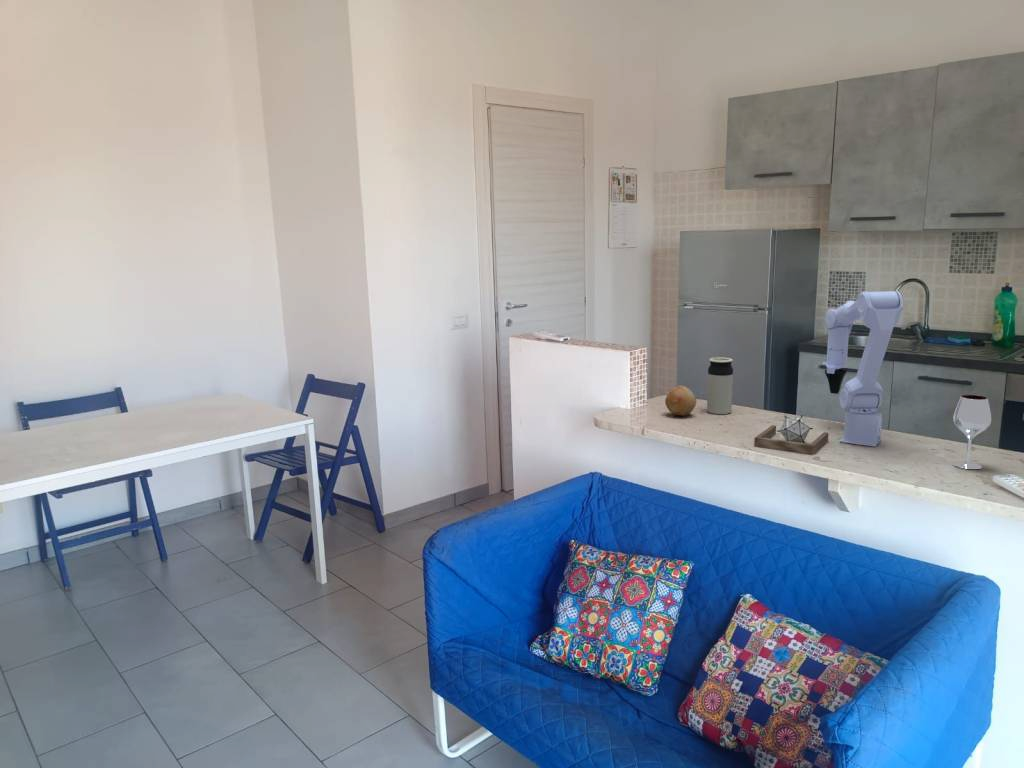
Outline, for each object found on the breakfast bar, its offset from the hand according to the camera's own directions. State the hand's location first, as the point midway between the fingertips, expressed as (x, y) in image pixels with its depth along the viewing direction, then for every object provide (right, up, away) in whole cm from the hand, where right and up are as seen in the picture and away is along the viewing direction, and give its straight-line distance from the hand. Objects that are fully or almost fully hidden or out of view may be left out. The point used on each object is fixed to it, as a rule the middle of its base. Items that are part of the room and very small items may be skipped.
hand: (834, 393), depth 231 cm
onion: (-43, -8, +19) cm, 48 cm away
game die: (-18, -14, -15) cm, 28 cm away
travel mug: (-29, -7, +23) cm, 38 cm away
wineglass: (+17, -18, -39) cm, 46 cm away
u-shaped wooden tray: (-19, -14, -16) cm, 28 cm away
